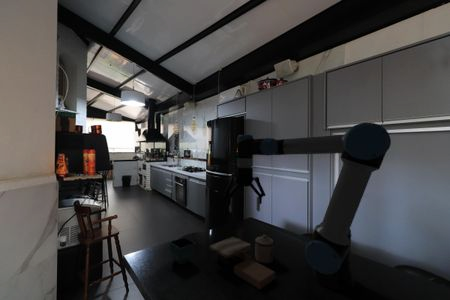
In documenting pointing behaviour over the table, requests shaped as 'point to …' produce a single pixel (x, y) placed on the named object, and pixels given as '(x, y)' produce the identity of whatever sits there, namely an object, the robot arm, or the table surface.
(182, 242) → the flower pot
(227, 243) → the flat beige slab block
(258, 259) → the teacup with lid
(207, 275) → the table surface
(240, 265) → the tile
